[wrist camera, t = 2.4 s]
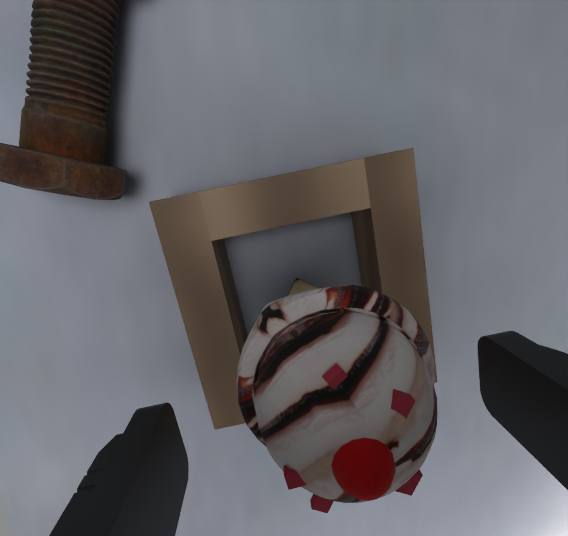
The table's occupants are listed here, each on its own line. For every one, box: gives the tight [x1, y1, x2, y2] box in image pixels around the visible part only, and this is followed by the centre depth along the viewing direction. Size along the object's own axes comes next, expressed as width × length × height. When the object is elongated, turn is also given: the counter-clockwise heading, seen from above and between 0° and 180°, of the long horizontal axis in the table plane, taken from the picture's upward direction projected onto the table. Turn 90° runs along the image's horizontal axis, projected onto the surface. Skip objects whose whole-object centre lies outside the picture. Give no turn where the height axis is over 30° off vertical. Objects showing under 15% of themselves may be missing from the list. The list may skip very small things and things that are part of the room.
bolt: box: [0, 0, 127, 200], centre depth 15 cm, size 6×5×15 cm
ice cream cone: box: [237, 278, 437, 513], centre depth 14 cm, size 6×6×15 cm
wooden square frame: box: [149, 148, 437, 429], centre depth 19 cm, size 12×12×4 cm
